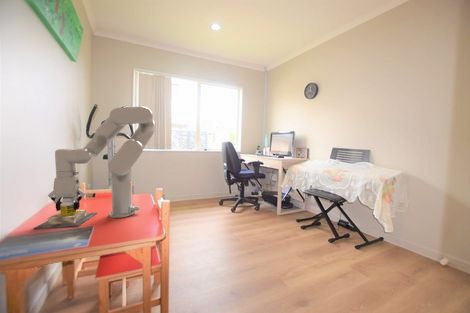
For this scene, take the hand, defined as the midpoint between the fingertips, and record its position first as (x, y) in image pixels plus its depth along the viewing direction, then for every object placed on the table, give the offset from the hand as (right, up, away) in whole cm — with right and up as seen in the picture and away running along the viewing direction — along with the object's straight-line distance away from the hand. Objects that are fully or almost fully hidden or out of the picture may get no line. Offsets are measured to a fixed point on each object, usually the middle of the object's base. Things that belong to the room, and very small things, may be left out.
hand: (68, 209), depth 103 cm
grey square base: (0, -6, 0) cm, 6 cm away
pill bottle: (0, -5, 0) cm, 5 cm away
